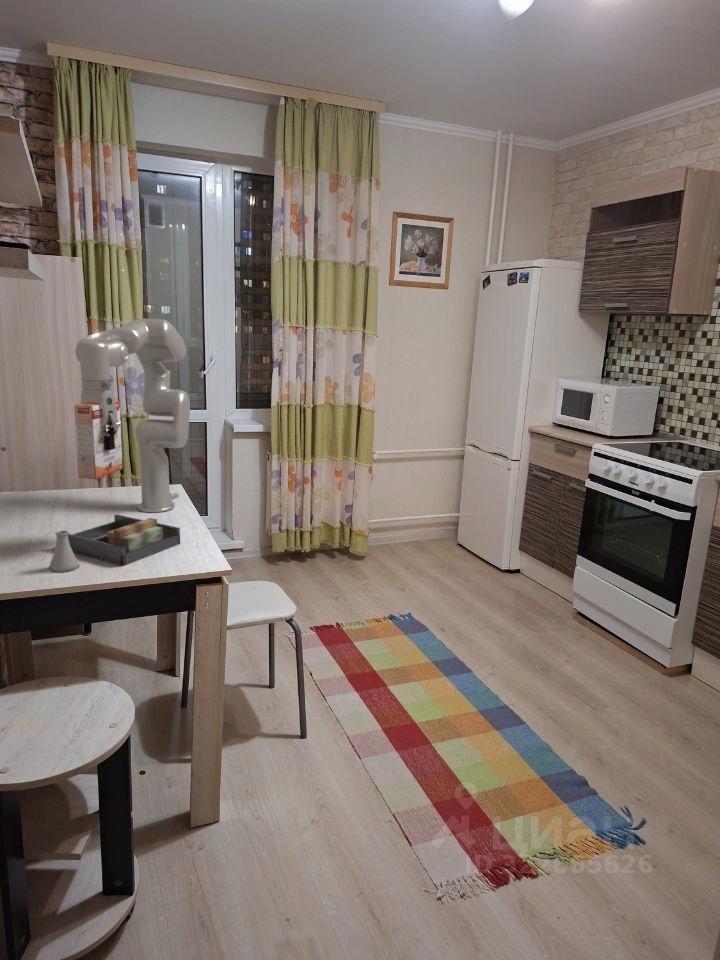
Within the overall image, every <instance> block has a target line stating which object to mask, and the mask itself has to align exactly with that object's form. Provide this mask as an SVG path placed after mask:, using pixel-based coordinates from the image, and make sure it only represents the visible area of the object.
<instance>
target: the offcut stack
mask: <svg viewBox="0 0 720 960" xmlns="http://www.w3.org/2000/svg"><path fill="white" fill-rule="evenodd" d="M142 520H143V521H139V522H136V523H133V524H130V525H127V526H124V527H121V528H118V529H115V530H112V531H108V532H107V534H106V535H108V543H109V544H113V545H118V546H122V547H125V550H126V552H129V551H132V550H135V549H137V548H140V547H143V546H145V545H148V544H151V543H154V542H156V541H159V540H162V539H163V530H162V527H158V526H157V523H158V519H157V518H152V517H150V518H146V519H142Z"/></svg>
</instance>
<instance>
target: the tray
mask: <svg viewBox="0 0 720 960" xmlns="http://www.w3.org/2000/svg"><path fill="white" fill-rule="evenodd" d="M113 516H114V517H113V518H114V521H112V522H108V523H105V524H102V525H98V526H95V527H92V528H88V529H85V530H82V531H77V532H75V533H73V534H71V533H69V534H68V540H69V544H70V547H71V549H72V551H73V553H74V554H76V553H77V554H76V555H79V554H80V555H79V556H83V555H84V556H83V557H87V556H88V558H92V559H95V560H99V561H103V562H107V563H111V564H114V565H118V566H127V565H129V564H132V563H134V562H137V561H140V560H142V559H143V560H144V558H147V557H151V556H153V555H155V554H158V553H160V552H163V551H165V549H166V550H168V549H171V548H173V547H175V546H178V545H180V544H181V530H180V529H181V528H180V527H177V526H173V525H168V524H164V523H159V522H157V526H158V527H162V530H163V539H162V540H159V541H156V542H154V543H151V544H148V545H145V546H143V547H140V548H137V549H135V550H132V551H129V552H126V550H125V547H122V546H118V545H113V544H109V543H108V535H107V532H108V531H112V530H115V529H118V528H121V527H124V526H127V525H130V524H133V523H136V522H139V521H143V520H144V519H140V518H137V517H136V518H135V517H130V516H126V515H122V514H114V515H113ZM170 547H171V548H170Z"/></svg>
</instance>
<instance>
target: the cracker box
mask: <svg viewBox="0 0 720 960" xmlns="http://www.w3.org/2000/svg"><path fill="white" fill-rule="evenodd" d="M115 404H116V410H117V420H118V421H119V422H120V426H119V428H118V430H117V432H116V435H114V441H115V449H112V450H105V447H104V436H106V435H105V433H104V427H103V426H102V420H101V409H100V405H99V404H93V403H83V404H81V403H78V404H74V419H75V433H76V434H75V436H76V451H77V467H78V469H77V470H78V478H82V479H88V480H89V479H90V480H97V479H99V478H102V477H105V476H107V475H108V476H109V475H111V474H114V473H116V472H119V471H122V470H123V469H124V468H123V451H122V450H123V448H122V447H123V446H122V444H123V443H122V425H121V423H122V422H121V403H120V401H119V400H115ZM111 423H112V422H111ZM107 425H109V423H107ZM107 429H108V431H109V430H110V429H109V428H107Z"/></svg>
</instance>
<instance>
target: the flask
mask: <svg viewBox="0 0 720 960" xmlns="http://www.w3.org/2000/svg"><path fill="white" fill-rule="evenodd" d="M54 534H55V536H56V544H55V548H54V552H53V555H52V558H51V561H50V564H49V567H48V568H49V569H50V570H51V571H52V572H59V573H64V572H68V571H74V570H75V569H78V568H79V567H81V565H80V563H79V561H78V559H77V557H76V556H75V555H76V554H75V553H73V551H72V549H71V547H70V544H69V540H68V534H70V531H68V530H63V529H62V530H57V531H55V532H54Z"/></svg>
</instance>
